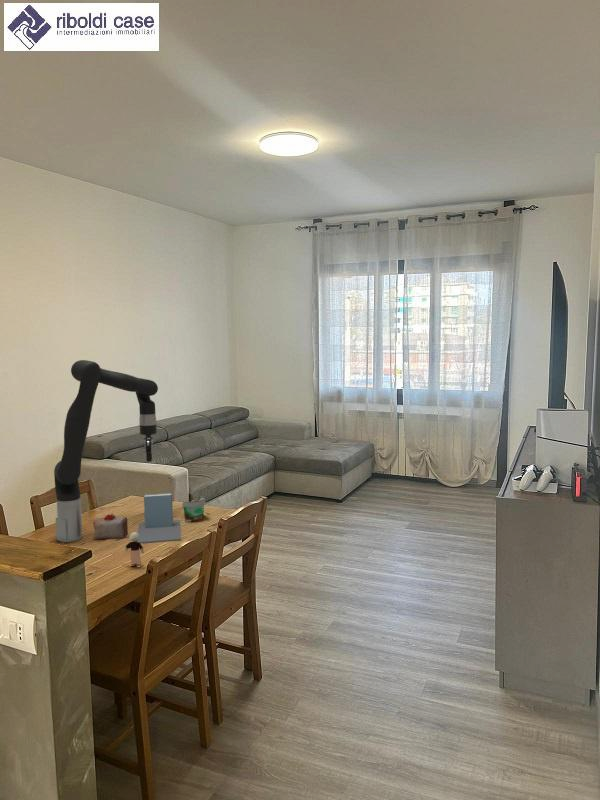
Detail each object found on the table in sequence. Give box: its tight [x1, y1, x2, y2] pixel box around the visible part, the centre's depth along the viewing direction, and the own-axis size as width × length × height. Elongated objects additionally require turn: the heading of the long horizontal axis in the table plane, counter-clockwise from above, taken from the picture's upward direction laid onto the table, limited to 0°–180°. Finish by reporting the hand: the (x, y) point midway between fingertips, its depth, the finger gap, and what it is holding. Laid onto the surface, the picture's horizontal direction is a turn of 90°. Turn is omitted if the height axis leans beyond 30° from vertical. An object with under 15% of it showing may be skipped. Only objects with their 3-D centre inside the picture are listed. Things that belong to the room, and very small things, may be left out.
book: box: [143, 492, 174, 528], centre depth 260 cm, size 4×12×14 cm, turn 102°
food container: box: [182, 495, 206, 523], centre depth 269 cm, size 12×6×10 cm, turn 146°
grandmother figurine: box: [124, 531, 145, 567], centre depth 216 cm, size 8×4×13 cm, turn 88°
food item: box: [92, 513, 129, 540], centre depth 248 cm, size 14×8×10 cm, turn 89°
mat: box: [136, 519, 182, 545], centre depth 254 cm, size 26×18×1 cm
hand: (149, 460), depth 272 cm, fingers open, 3 cm apart
